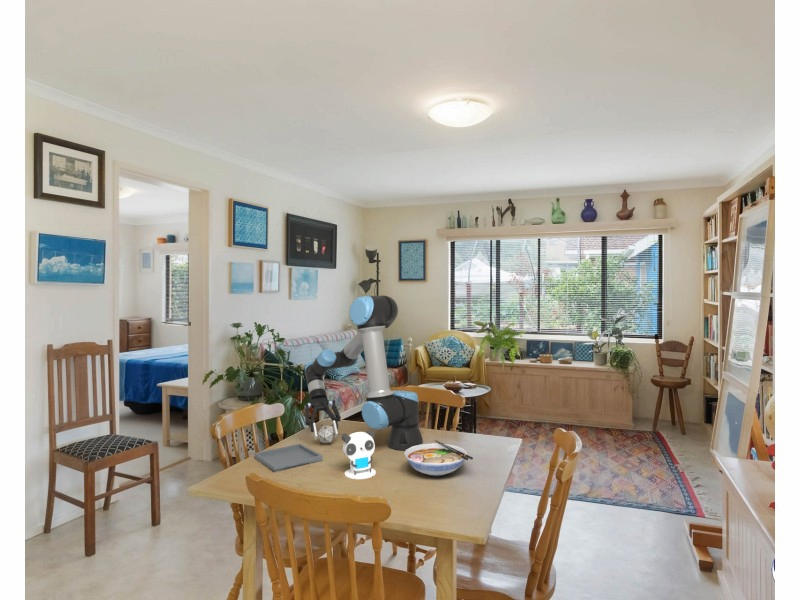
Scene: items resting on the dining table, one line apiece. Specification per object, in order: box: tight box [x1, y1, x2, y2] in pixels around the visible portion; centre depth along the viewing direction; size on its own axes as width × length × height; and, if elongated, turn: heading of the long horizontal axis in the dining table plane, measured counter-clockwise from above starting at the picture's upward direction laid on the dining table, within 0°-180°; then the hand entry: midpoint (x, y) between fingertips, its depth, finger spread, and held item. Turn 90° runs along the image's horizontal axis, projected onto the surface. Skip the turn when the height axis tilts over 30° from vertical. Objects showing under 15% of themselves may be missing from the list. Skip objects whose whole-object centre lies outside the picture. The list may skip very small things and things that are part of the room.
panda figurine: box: [341, 429, 377, 480], centre depth 183 cm, size 12×11×15 cm
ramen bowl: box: [403, 439, 474, 477], centre depth 183 cm, size 25×23×8 cm
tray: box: [253, 443, 323, 473], centre depth 200 cm, size 20×20×2 cm
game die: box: [317, 423, 336, 445], centre depth 218 cm, size 9×8×10 cm
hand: (326, 436), depth 214 cm, fingers closed on game die, 8 cm apart
